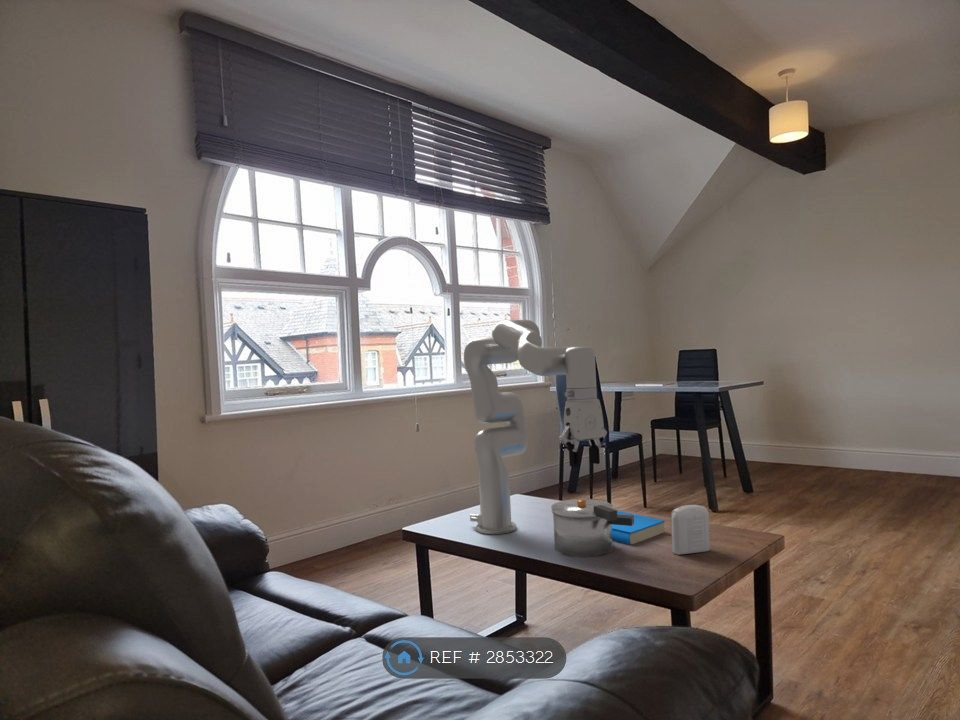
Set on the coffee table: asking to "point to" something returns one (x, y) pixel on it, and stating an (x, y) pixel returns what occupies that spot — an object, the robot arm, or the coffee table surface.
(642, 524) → the book
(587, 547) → the cooker pot
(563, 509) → the lid
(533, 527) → the coffee table surface
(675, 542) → the white arched block
